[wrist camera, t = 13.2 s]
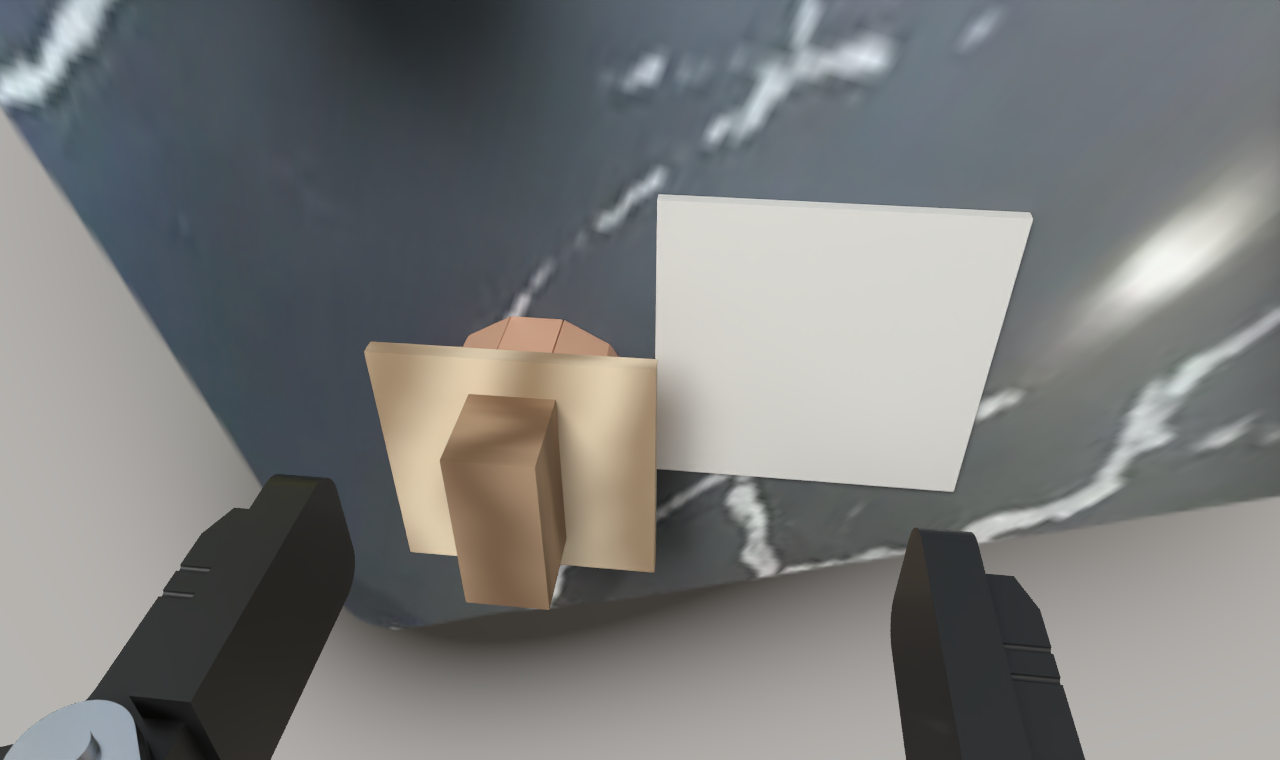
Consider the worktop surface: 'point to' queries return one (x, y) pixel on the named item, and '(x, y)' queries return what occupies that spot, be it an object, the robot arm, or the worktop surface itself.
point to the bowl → (539, 337)
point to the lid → (520, 462)
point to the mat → (827, 336)
